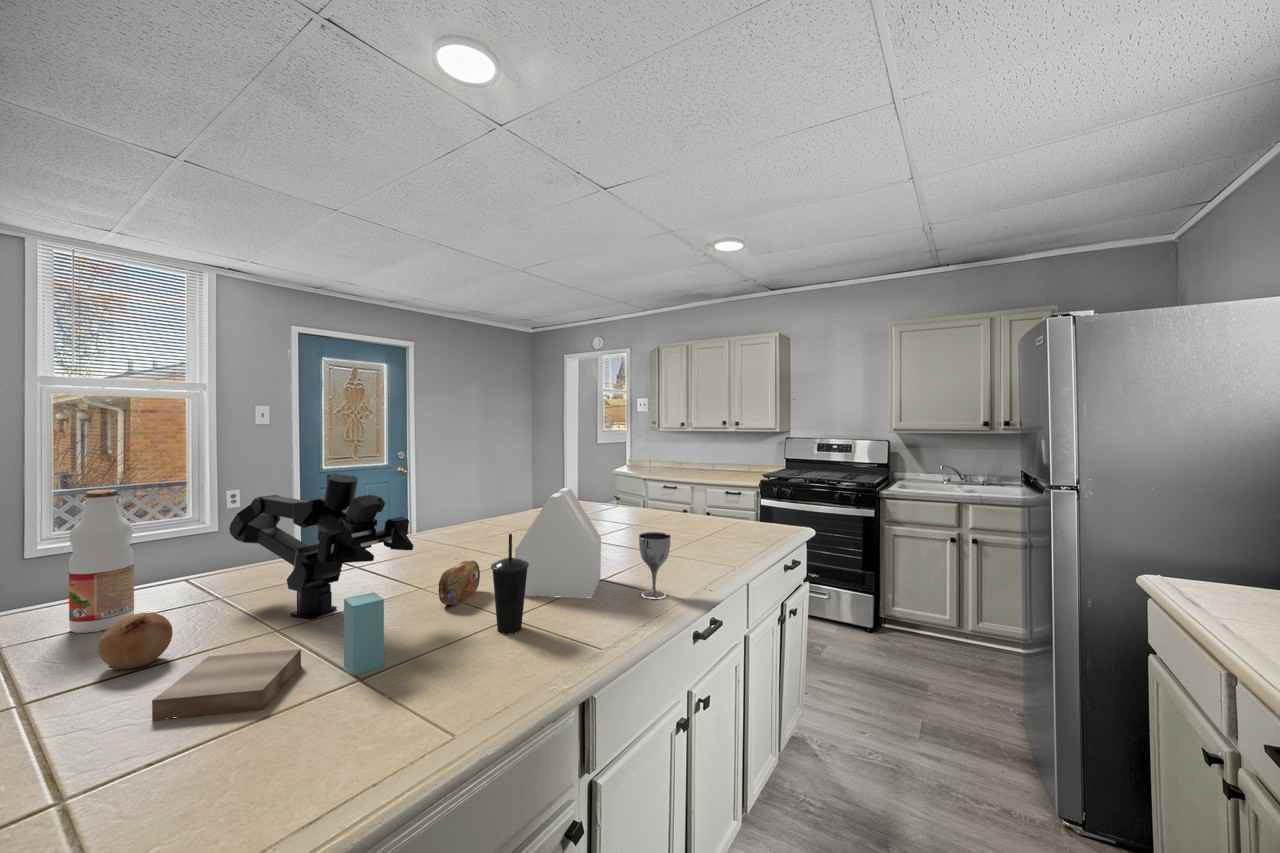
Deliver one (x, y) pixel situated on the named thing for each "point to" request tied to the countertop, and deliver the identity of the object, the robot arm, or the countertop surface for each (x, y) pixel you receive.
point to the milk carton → (561, 550)
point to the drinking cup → (509, 591)
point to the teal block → (363, 633)
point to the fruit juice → (100, 565)
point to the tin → (459, 583)
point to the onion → (135, 641)
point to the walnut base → (228, 684)
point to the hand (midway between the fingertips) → (393, 552)
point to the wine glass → (654, 555)
